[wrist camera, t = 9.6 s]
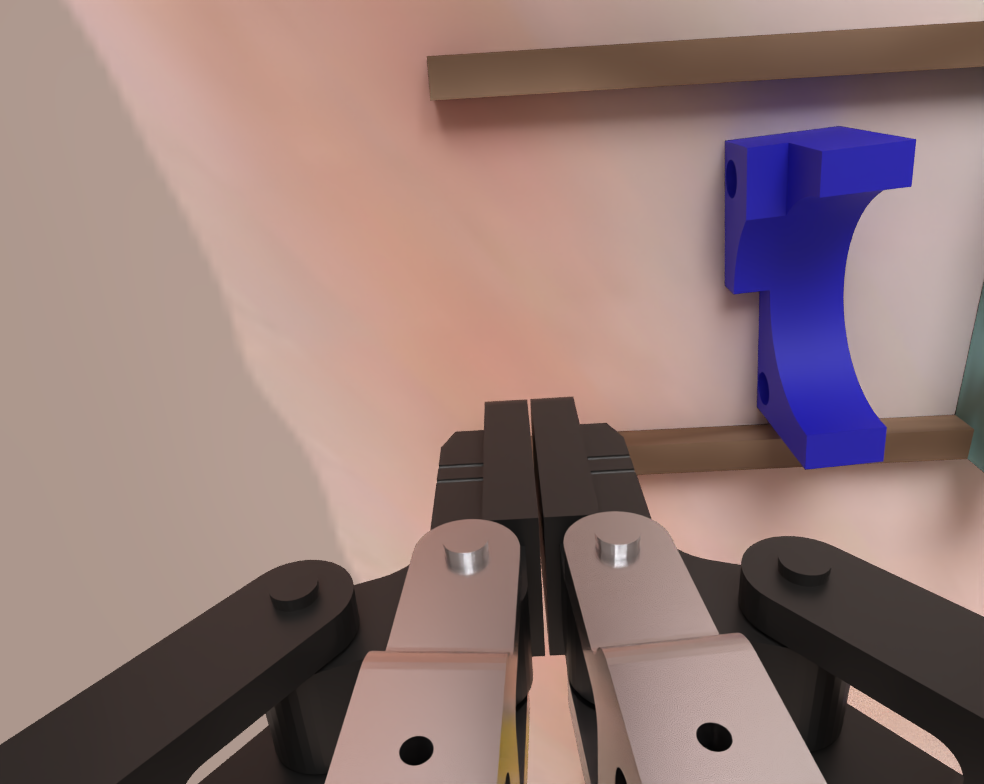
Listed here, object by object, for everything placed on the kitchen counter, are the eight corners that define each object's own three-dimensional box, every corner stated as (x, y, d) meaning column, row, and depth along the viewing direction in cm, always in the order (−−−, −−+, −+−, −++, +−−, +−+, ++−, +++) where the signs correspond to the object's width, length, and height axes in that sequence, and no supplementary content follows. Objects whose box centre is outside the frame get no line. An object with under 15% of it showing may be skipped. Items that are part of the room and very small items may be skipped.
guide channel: (429, 57, 28) (414, 54, 23) (1108, 13, 28) (1261, 1, 22) (463, 467, 36) (458, 540, 30) (1002, 440, 35) (1097, 510, 29)
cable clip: (724, 140, 30) (775, 157, 24) (837, 125, 29) (916, 139, 24) (723, 408, 35) (766, 473, 29) (821, 398, 34) (883, 461, 29)
